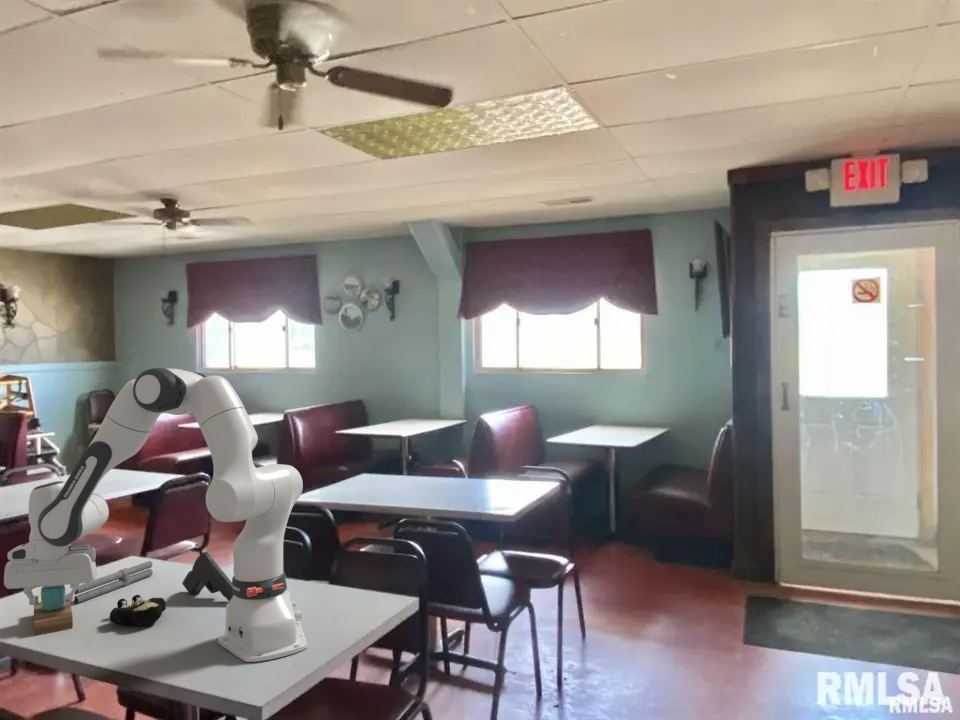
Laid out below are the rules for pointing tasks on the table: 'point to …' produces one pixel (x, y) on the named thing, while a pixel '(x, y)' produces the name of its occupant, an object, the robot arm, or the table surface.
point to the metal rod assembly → (122, 582)
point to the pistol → (207, 577)
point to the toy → (138, 611)
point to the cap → (53, 597)
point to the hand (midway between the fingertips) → (52, 602)
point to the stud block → (52, 619)
